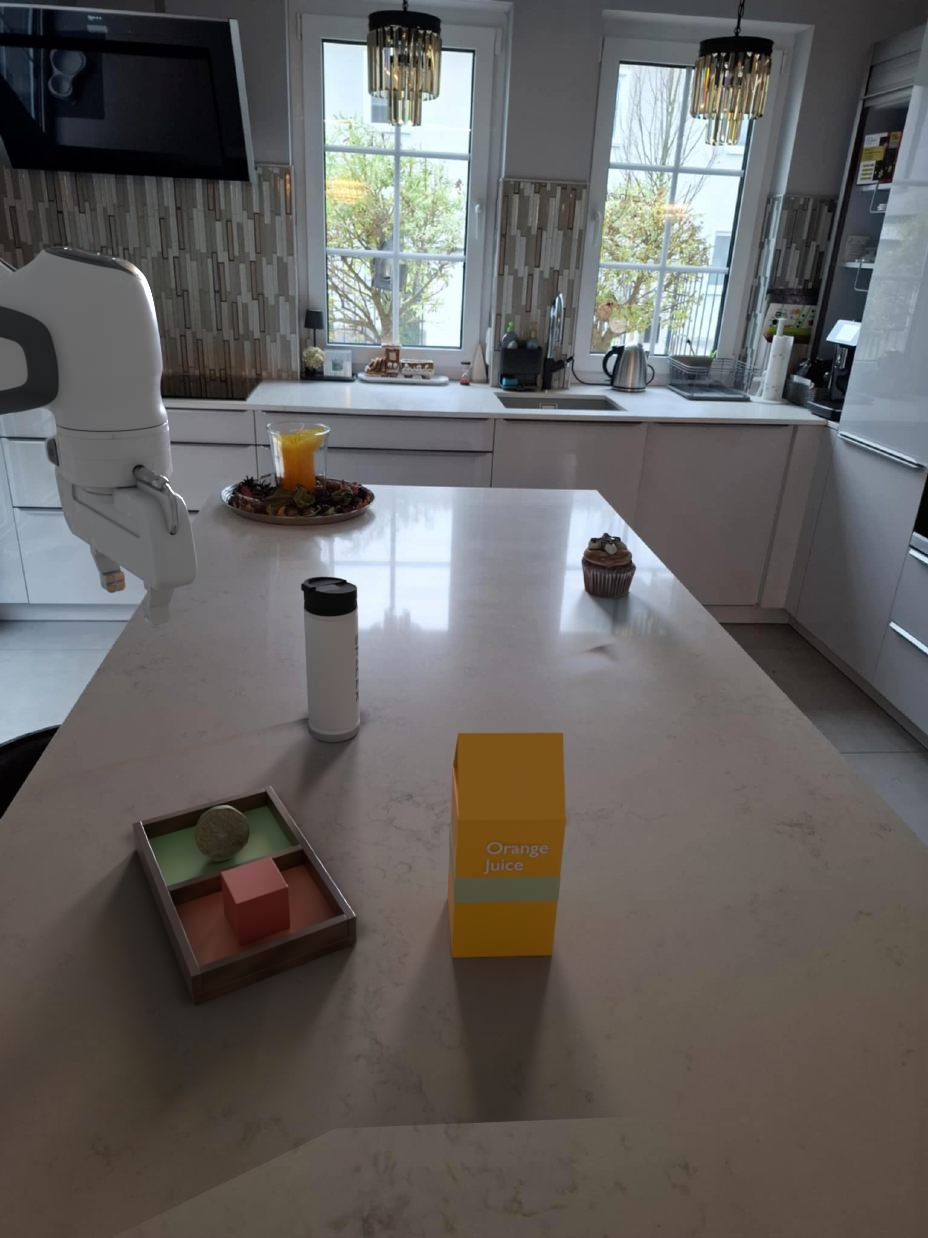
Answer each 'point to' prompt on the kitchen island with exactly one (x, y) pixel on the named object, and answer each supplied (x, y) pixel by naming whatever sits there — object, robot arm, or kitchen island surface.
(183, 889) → the sorting tray
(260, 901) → the red block
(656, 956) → the kitchen island surface
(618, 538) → the cupcake
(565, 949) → the kitchen island surface
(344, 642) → the travel mug
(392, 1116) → the kitchen island surface
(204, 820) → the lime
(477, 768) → the orange juice
